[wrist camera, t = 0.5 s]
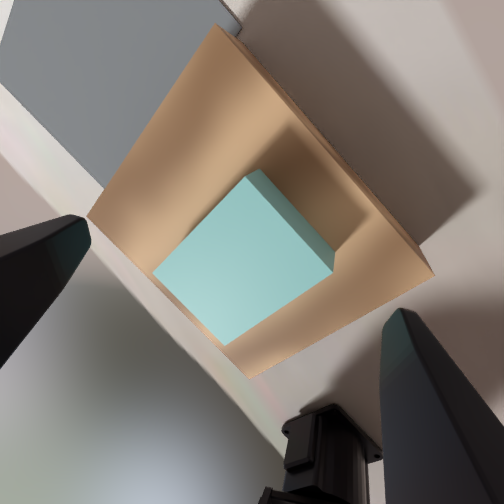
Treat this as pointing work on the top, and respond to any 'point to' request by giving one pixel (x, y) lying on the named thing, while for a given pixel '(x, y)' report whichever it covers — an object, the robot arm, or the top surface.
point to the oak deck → (230, 174)
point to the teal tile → (246, 259)
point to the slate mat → (101, 67)
